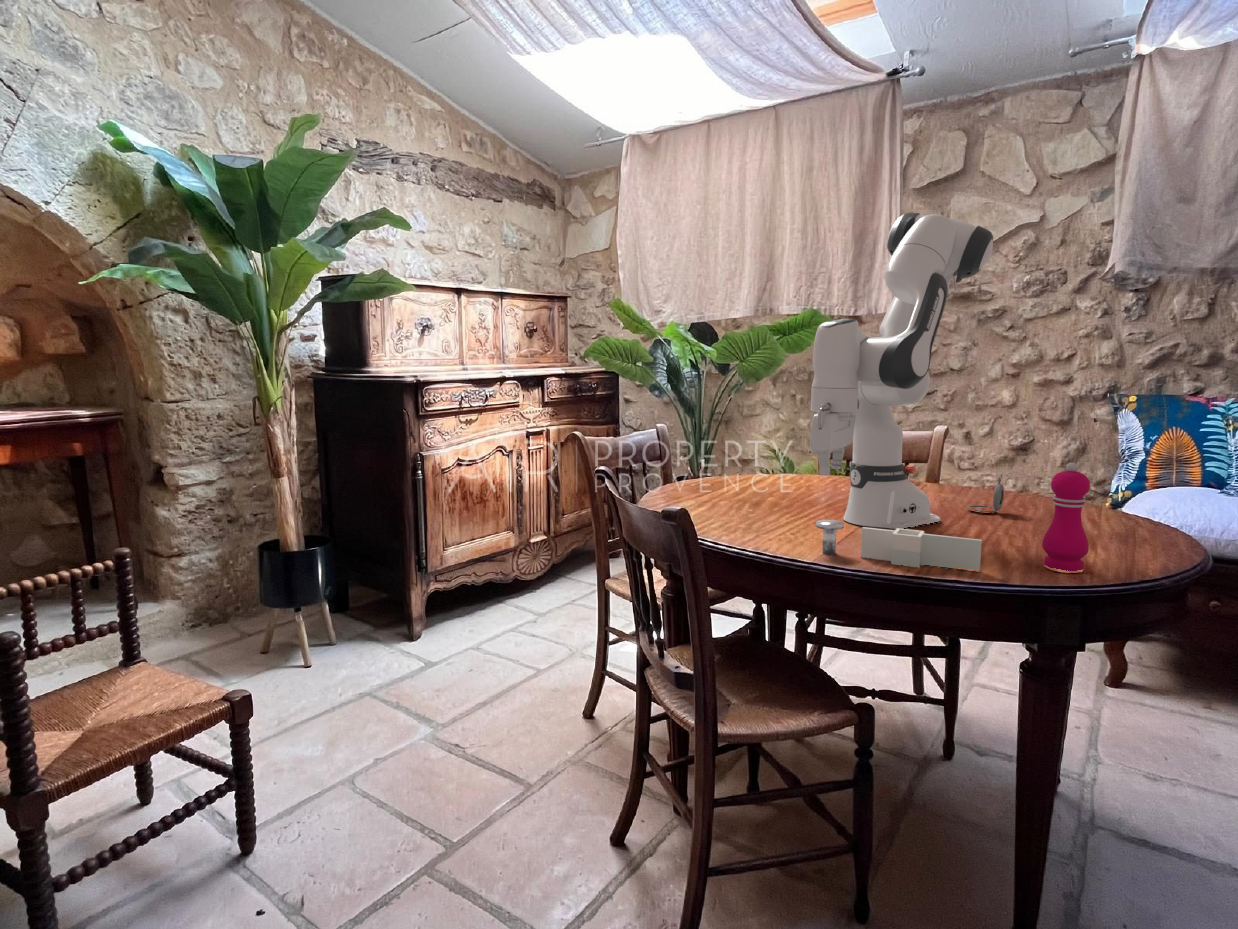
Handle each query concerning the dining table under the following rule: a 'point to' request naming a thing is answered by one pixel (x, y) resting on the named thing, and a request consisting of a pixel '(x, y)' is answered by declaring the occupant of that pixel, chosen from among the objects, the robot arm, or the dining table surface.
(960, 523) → the dining table surface
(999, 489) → the pocket watch
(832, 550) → the hinge pin
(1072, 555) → the pepper mill
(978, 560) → the hinge
